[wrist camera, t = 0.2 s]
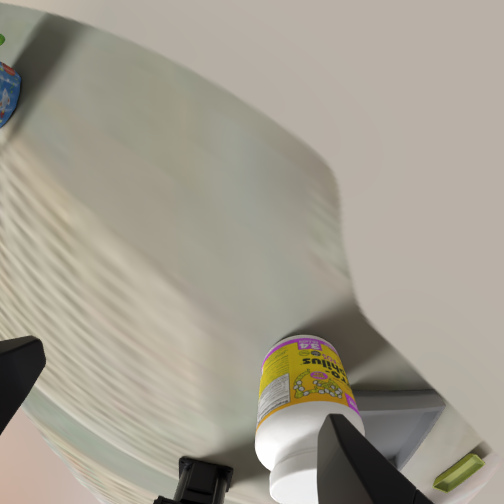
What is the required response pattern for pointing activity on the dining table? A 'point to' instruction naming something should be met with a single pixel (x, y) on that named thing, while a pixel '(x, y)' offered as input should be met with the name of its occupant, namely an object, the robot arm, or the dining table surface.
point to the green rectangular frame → (458, 473)
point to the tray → (398, 420)
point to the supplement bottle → (299, 413)
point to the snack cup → (8, 89)
